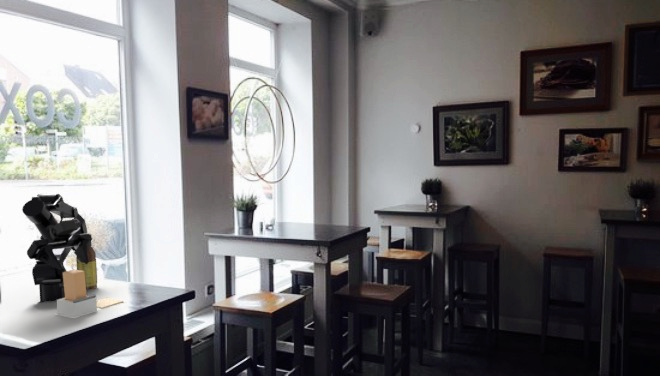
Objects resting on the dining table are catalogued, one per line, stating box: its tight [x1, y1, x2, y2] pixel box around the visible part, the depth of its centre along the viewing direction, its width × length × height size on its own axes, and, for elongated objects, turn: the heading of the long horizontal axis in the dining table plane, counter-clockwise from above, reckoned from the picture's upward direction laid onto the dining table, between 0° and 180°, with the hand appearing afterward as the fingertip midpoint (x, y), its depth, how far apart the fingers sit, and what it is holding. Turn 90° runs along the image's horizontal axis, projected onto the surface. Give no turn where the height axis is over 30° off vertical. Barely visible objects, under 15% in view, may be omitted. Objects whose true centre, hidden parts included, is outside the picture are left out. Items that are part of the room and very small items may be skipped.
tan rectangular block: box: [63, 269, 88, 301], centre depth 144 cm, size 5×3×12 cm
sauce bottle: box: [75, 232, 98, 292], centre depth 174 cm, size 7×6×20 cm
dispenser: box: [53, 294, 126, 319], centre depth 149 cm, size 9×18×6 cm, turn 152°
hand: (74, 265), depth 150 cm, fingers open, 9 cm apart
